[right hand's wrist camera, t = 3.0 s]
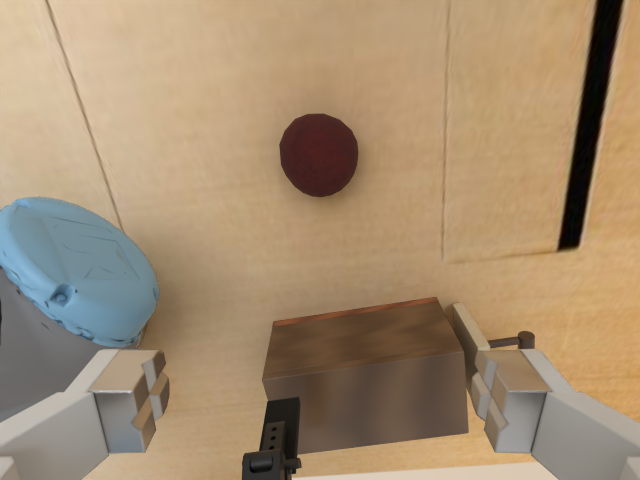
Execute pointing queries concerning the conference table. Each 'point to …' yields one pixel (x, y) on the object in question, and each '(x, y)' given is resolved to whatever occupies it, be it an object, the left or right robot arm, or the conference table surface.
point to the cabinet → (370, 375)
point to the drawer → (481, 340)
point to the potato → (318, 154)
